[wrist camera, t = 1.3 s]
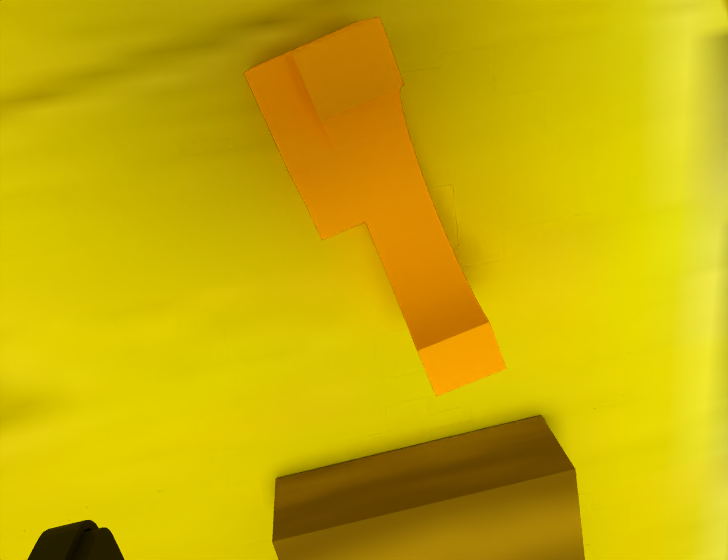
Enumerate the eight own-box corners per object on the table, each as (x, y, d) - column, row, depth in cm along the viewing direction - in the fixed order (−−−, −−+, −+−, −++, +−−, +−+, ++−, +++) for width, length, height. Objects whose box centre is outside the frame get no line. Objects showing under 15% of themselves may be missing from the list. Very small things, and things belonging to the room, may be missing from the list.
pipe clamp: (250, 67, 23) (234, 80, 17) (358, 20, 23) (379, 16, 17) (369, 332, 28) (389, 415, 22) (461, 295, 28) (506, 368, 22)
